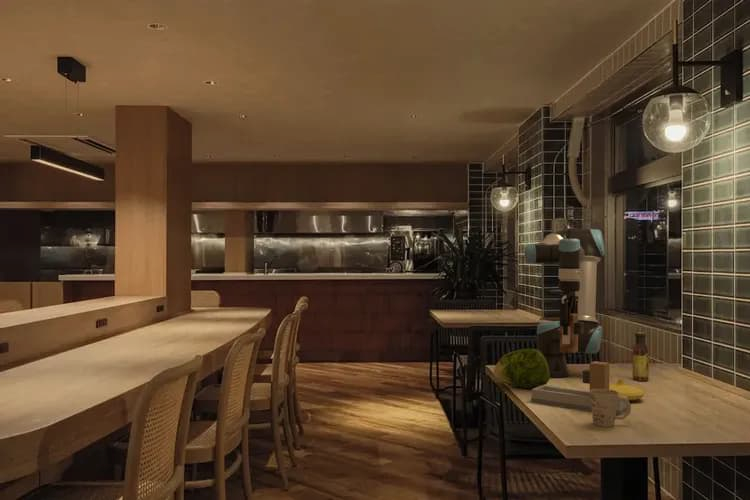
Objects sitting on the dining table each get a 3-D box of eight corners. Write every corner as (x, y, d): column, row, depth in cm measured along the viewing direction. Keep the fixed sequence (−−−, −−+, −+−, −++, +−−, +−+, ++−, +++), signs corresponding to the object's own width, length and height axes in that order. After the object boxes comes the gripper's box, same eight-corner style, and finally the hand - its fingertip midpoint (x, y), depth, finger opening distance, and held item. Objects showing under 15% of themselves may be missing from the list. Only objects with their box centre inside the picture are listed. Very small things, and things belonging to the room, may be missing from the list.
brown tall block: (559, 351, 236) (559, 313, 236) (564, 350, 240) (564, 312, 240) (579, 353, 231) (580, 315, 231) (584, 352, 235) (584, 314, 235)
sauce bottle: (650, 382, 263) (650, 333, 264) (634, 381, 265) (634, 333, 265) (646, 379, 270) (647, 332, 270) (631, 378, 271) (631, 331, 271)
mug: (584, 421, 198) (585, 388, 198) (623, 420, 199) (623, 388, 199) (596, 428, 190) (596, 394, 190) (636, 427, 191) (637, 394, 191)
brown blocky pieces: (531, 402, 223) (531, 357, 224) (542, 397, 231) (542, 354, 232) (619, 415, 205) (619, 367, 206) (628, 410, 213) (628, 363, 214)
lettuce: (499, 388, 260) (487, 353, 259) (549, 373, 257) (538, 338, 256) (503, 402, 244) (490, 366, 243) (556, 387, 242) (544, 350, 240)
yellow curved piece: (622, 406, 220) (622, 385, 220) (588, 397, 234) (588, 377, 234) (654, 401, 227) (654, 381, 227) (618, 393, 241) (618, 374, 241)
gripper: (570, 281, 227) (570, 346, 227) (587, 279, 241) (587, 341, 241) (550, 280, 231) (549, 344, 231) (568, 279, 246) (567, 339, 246)
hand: (568, 342), depth 236 cm, fingers closed on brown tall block, 5 cm apart
